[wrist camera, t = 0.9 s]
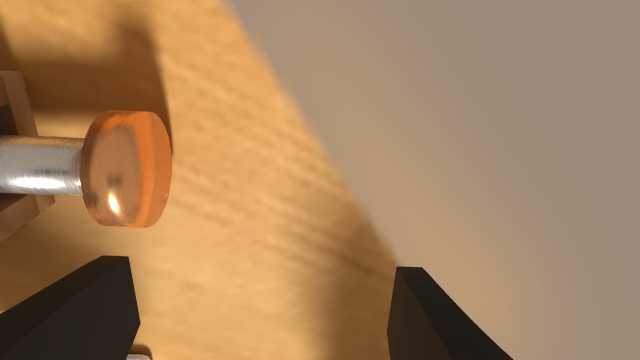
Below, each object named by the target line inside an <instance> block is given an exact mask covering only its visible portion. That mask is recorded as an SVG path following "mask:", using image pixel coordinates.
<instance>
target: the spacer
mask: <svg viewBox="0 0 640 360" xmlns="http://www.w3.org/2000/svg"><path fill="white" fill-rule="evenodd" d="M0 135H21V136H38V133H37V129H36V125H35V121H34V117H33V113H32V109H31V105H30V102H29V98H28V94H27V90H26V86H25V82H24V78H23V74H22V71H5V70H0ZM54 203H55V200H54V196H53V195H44V194H19V193H0V242H1V241H2V240H4V239H5V238H6V237H8V236H9V235H11V234H12V233H13V232H15V231H16V230H18V229H19V228H20V227H22V226H23V225H24V224H26V223H27V222H29V221H30V220H31V219H33V218H34V217H36V216H37V215H38V214H40V213H41V212H42V211H44V210H45V209H47V208H48V207H49V206H51V205H52V204H54Z"/></svg>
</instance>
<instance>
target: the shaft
mask: <svg viewBox="0 0 640 360" xmlns="http://www.w3.org/2000/svg"><path fill="white" fill-rule="evenodd" d="M171 173H172V157H171V148H170V142H169V137H168V134H167V131H166V128H165V126H164V124H163V122H162V120H161V119H160V118H159V116H158V115H156V114H155V113H153V112H148V111H125V110H108V111H105V112H103V113H101V114H100V115H99V116H98V117H96V119H95V120H94V121H93V123H92V124H91V126H90V128H89V130H88V132H87V134H86V137H85V138H67V137H44V136H21V135H0V193H19V194H44V195H69V196H83V198H84V202H85V204H86V207H87V209H88V211H89V213H90V214H91V216H92V217H93V218H94V219H95V220H96V221H97V222H98V223H99V224H101V225H103V226H110V227H135V228H148V227H151V226H152V225H154V224H155V223H156V222H157V221H158V219H159V218H160V216H161V214H162V212H163V210H164V208H165V205H166V202H167V199H168V195H169V190H170V184H171Z"/></svg>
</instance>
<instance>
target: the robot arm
mask: <svg viewBox="0 0 640 360" xmlns="http://www.w3.org/2000/svg"><path fill="white" fill-rule="evenodd" d="M139 326H140V318H139V312H138V307H137V301H136V296H135V290H134V284H133V279H132V273H131V268H130V262H129V257H127V256H101V257H99V258H97V259H95V260H93V261H91V262H89V263H87V264H86V265H84V266H82V267H80V268H79V269H77V270H75V271H73V272H72V273H70V274H68V275H67V276H65V277H63V278H61V279H60V280H58V281H56V282H55V283H53V284H51V285H50V286H48V287H46V288H45V289H43V290H41V291H39V292H38V293H36V294H34V295H33V296H31V297H29V298H28V299H26V300H24V301H22V302H21V303H19V304H17V305H16V306H14V307H12V308H10V309H9V310H7V311H5V312H3V313H2V314H0V360H151V359H150V358H149V357H148V356H146V355H142V354H128V353H129V351H130V349H131V346H132V344H133V341H134V339H135V336H136V334H137V331H138V328H139ZM387 336H388V344H389V352H390V359H391V360H513V359H512V358H511V357H510V356H509V355H508V354H507V353H506V352H504V351H503V350H502V349H501V348H500V347H499V346H498V345H497V344H496V343H495V342H493V340H492V339H490V337H488V336H487V335H486V334H485V333H484V332H483V331H482V330H481V329H480V328H479V327H478V326H477V325H476V324H475V323H474V322H473V321H472V320H471V319H470V318H469V317H468V316H467V315H466V314H465V313H464V312H463V310H461V308H460V307H459V306H458V305H457V304H456V303H455V302H454V301H453V300H452V299H451V298H450V297H449V296H448V295H447V294H446V293H445V292H444V290H443V289H442V288H441V287H440V286H439V285H438V284H437V283H436V282H435V281H434V280H433V279H432V277H431V276H430V275H429V274H428V273H427V272H426V271H425V270H424V269H423V268H422V267H398V266H397V268H396V275H395V282H394V288H393V295H392V302H391V308H390V315H389V322H388V328H387Z"/></svg>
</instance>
